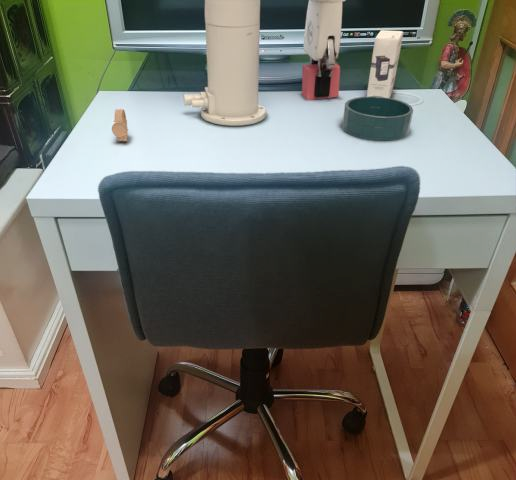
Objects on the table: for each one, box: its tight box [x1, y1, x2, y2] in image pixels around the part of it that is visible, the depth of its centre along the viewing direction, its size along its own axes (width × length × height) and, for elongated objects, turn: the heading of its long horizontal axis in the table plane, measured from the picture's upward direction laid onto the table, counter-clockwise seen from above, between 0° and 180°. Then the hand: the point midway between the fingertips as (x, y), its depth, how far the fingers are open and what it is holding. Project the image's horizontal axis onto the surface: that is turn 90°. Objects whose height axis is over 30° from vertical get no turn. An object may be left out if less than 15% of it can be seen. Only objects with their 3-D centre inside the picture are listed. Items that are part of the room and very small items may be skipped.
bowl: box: [341, 96, 414, 142], centre depth 94 cm, size 12×12×4 cm
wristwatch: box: [111, 108, 129, 142], centre depth 86 cm, size 3×5×5 cm, turn 4°
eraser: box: [301, 62, 341, 101], centre depth 108 cm, size 7×4×6 cm, turn 102°
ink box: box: [366, 29, 404, 98], centre depth 107 cm, size 8×5×12 cm, turn 162°
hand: (318, 92), depth 109 cm, fingers closed on eraser, 4 cm apart
